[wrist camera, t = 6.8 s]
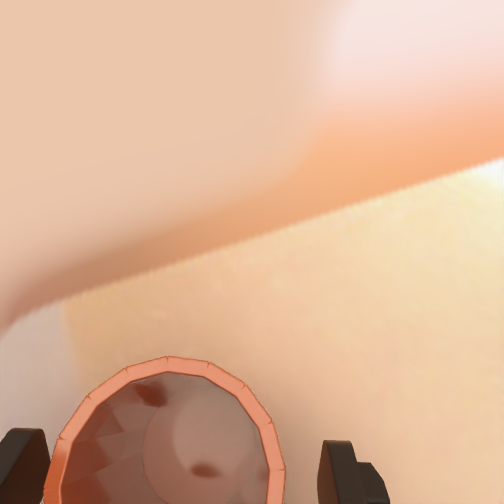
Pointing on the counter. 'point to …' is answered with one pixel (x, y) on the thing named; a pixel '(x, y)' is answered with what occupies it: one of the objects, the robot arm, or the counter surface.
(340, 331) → the counter surface
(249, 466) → the terracotta cup
